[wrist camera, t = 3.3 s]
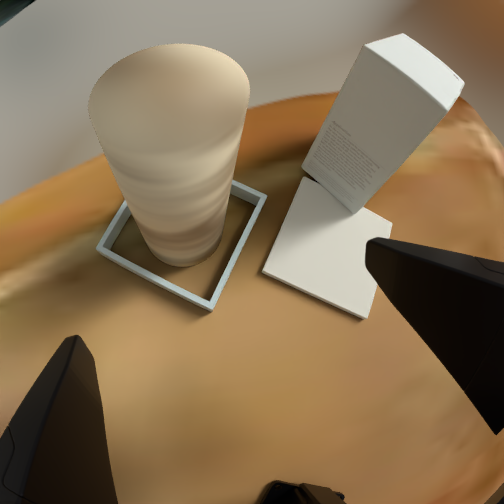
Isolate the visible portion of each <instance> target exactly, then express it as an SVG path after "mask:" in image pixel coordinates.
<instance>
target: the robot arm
mask: <svg viewBox="0 0 504 504" xmlns="http://www.w3.org/2000/svg"><path fill="white" fill-rule="evenodd" d="M365 266H366V269H367V270H368V272H369V273H370V274H371V276H372V277H373V278H374V280H375V281H376V283H377V284H378V285H379V287H380V288H381V289H382V291H383V292H384V294H385V295H386V296H387V298H388V299H389V300H390V302H391V303H392V304H393V305H394V307H395V308H396V309H397V310H398V311H399V312H400V313H401V315H402V316H403V317H404V318H405V319H406V320H407V322H408V323H409V324H410V325H411V326H412V327H413V329H414V330H415V331H416V332H417V333H418V335H419V336H420V337H421V338H422V339H423V341H424V342H425V343H426V344H427V345H428V347H429V348H430V349H431V350H432V352H433V353H434V354H435V355H436V356H437V358H438V359H439V360H440V361H441V363H442V364H443V365H444V366H445V368H446V369H447V370H448V372H449V373H450V374H451V375H452V377H453V378H454V379H455V381H456V382H457V383H458V384H459V386H460V387H461V388H462V390H463V391H464V393H465V394H466V395H467V397H468V398H469V399H470V401H471V402H472V403H473V405H474V406H475V408H476V409H477V410H478V412H479V413H480V414H481V416H482V417H483V419H484V420H485V421H486V423H487V424H488V426H489V427H490V429H491V430H492V431H493V433H494V434H495V435H497V434H498V433H499V432H500V431H501V430H502V429H503V428H504V262H499V261H494V260H489V259H485V258H480V257H476V256H475V257H473V256H471V255H466V254H462V253H457V252H452V251H447V250H443V249H438V248H433V247H428V246H423V245H418V244H413V243H408V242H403V241H398V240H392V239H387V238H382V237H375V238H373V239H370V240H368V241H367V243H366V249H365ZM277 485H280V487H279V488H275V486H277ZM339 496H340V497H339ZM344 498H345V497H344V495H343V494H342V493H340V492H335V491H332V490H331V489H330V488H327V487H321V486H316V485H311V484H306V483H302V484H299V485H297V484H292V483H288V482H284V481H279V480H277V481H274V482H272V483H271V485H270V487H269V489H268V490H267V492H266V494H265V496H264V497H263V499H262V501H261V503H260V504H346V503H345V502H344V501H343V500H344ZM0 504H118V501H117V496H116V492H115V487H114V482H113V477H112V472H111V466H110V460H109V454H108V447H107V440H106V432H105V424H104V415H103V407H102V401H101V396H100V391H99V385H98V380H97V374H96V367H95V361H94V358H93V356H92V354H91V352H90V351H89V349H88V348H87V346H86V344H85V343H84V341H83V340H82V338H81V337H80V336H79V335H73V336H70V337H67V338H65V339H64V341H63V342H62V343H61V345H60V346H59V348H58V349H57V350H56V352H55V353H54V355H53V356H52V358H51V359H50V360H49V362H48V363H47V365H46V366H45V368H44V369H43V371H42V372H41V373H40V375H39V376H38V378H37V379H36V381H35V382H34V384H33V386H32V387H31V389H30V390H29V392H28V393H27V395H26V396H25V398H24V400H23V401H22V403H21V404H20V406H19V408H18V409H17V411H16V412H15V414H14V416H13V417H12V419H11V421H10V422H9V426H7V427H6V429H5V431H4V433H3V435H2V436H1V438H0ZM484 504H504V483H503V484H502V485H501V486H500V487H499V488H498V490H497V491H496V492H495V493H494V494H493V495H492V496H491V497H490V498H489V499H488V500H487V501H486V502H485V503H484Z"/></svg>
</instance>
